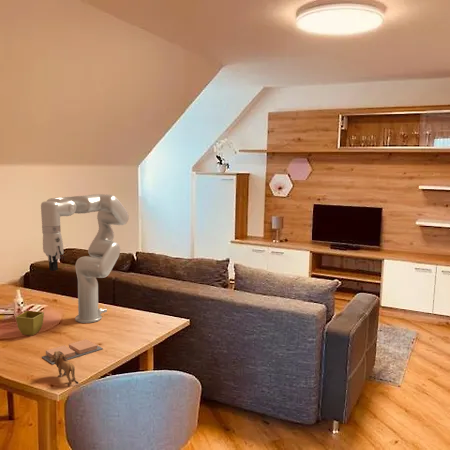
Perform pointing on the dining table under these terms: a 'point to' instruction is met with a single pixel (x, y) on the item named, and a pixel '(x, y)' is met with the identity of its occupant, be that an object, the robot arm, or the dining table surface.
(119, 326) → the dining table surface
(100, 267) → the robot arm
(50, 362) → the felt mat
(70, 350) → the tile
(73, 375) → the lion figurine
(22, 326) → the flower pot
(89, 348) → the tile
